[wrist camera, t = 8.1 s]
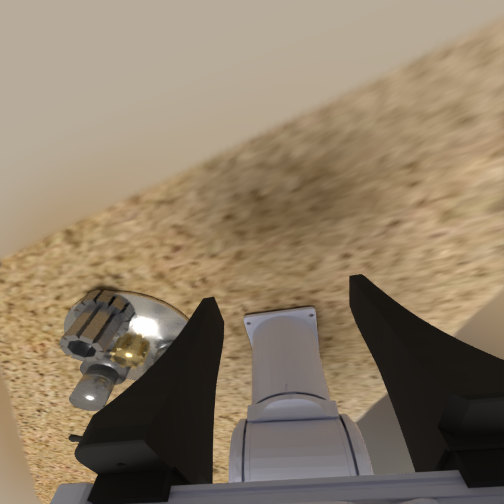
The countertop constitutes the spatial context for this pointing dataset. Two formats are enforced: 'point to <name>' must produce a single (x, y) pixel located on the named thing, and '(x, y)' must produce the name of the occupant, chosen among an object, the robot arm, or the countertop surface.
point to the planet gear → (97, 325)
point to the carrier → (127, 349)
